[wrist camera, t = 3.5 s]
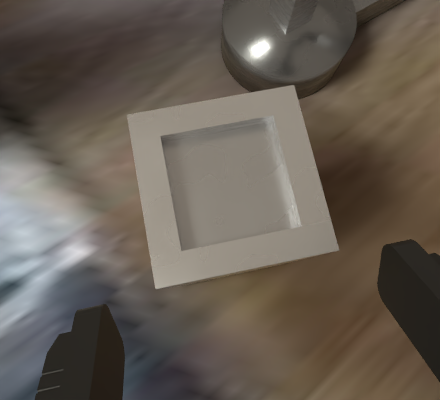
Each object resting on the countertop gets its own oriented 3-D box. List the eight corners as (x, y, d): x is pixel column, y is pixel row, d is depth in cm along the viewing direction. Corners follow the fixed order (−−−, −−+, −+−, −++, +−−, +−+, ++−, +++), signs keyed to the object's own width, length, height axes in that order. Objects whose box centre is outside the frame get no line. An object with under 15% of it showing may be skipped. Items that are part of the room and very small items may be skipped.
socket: (167, 194, 19) (126, 114, 10) (255, 177, 20) (294, 84, 11) (183, 285, 18) (155, 288, 9) (276, 265, 19) (339, 250, 10)
